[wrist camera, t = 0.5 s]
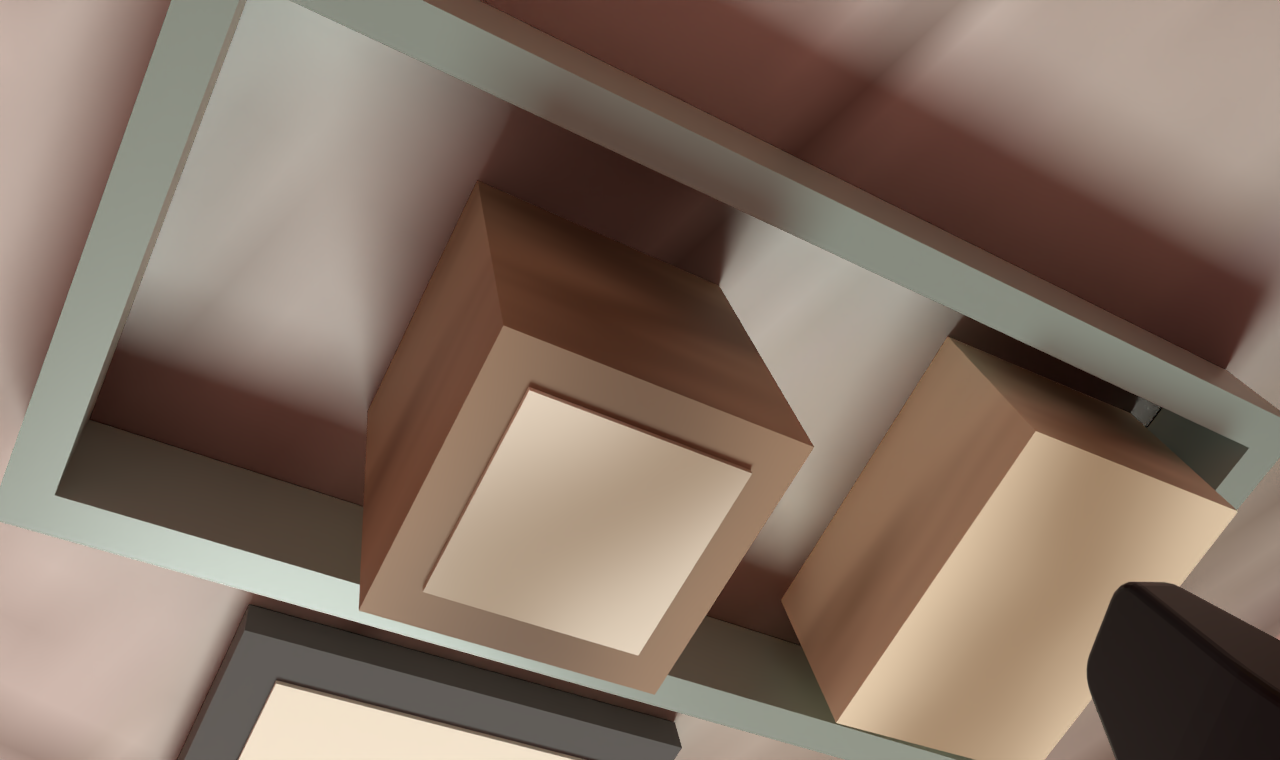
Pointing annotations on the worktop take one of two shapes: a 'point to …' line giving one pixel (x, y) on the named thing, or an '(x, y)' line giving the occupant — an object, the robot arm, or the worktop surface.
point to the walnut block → (568, 449)
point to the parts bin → (637, 129)
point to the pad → (396, 706)
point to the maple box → (991, 558)
